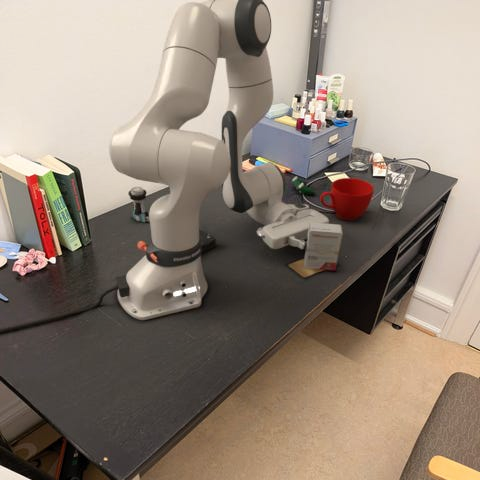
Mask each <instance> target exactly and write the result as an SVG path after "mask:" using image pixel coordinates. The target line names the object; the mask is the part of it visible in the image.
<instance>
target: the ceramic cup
mask: <svg viewBox="0 0 480 480" xmlns="http://www.w3.org/2000/svg"><path fill="white" fill-rule="evenodd" d="M374 190H375V188H374V186H373V185H372V184H371V183H370V182H368V181H366V180H363V179H359V178H354V177H342V178H338V179H336V180H334V181H333V182H332V184H331V190H330V191H324V192H323V193H322V194H321V195H320V198H319V200H320V203H321V204H322V206H323V207H326V208H328V209H332V210H333V211H334V213H335V215H336V216H337V217H338V218H339V219H341V220H344V221H354V220H356V219H357V218H359V217H361V216H362V215H363V214H364V213H365V212H366V210H367V209H368V207H369V206H370V203H371V201H372V199H373V195H374V192H375V191H374ZM328 195H329V196H330V202H331V204H327V203H326V202H325V201H324V197H325V196H328Z"/></svg>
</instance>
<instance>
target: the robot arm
mask: <svg viewBox="0 0 480 480" xmlns="http://www.w3.org/2000/svg"><path fill="white" fill-rule="evenodd" d="M271 34H272V17H271V12H270V10H269V8H268V6H267V4H266V2H265V1H264V0H206V1H202V2H197V1H194V2H193V1H191V2H186V3H183V4H181V5H180V7H178V8H177V10H176V12H175V13H174V16H173V18H172V21H171V23H170V26H169V29H168V32H167V35H166V38H165V42H164V45H163V49H162V54H161V59H160V64H159V68H158V72H157V75H156V80H155V82H154V87H153V89H152V92H151V94H150V96H149V98H148V100H147V101H146V103H145V104H144V106H143V107H142V108H141V109H140V111H139V112H138V113H137V114H136V115H135V116H134V117H133V118H132V119H130V120H129V121H128V122H126V123H125V124H123V125H120V126H119V127H118V128H116V130H115V131H114V132H113V134H112V135H111V138H110V141H109V145H108V146H109V147H108V153H109V159H110V161H111V164H112V165H113V167H114V169H115V170H116V171H117V172H118V173H120V174H122V175H124V176H127V177H130V178H132V179H135V180H137V181H141V182H142V181H143V182H149V183H154V184H155V183H156V184H160V185H165V186H168V187H169V193H168V194H166V195H163V196H161V197H159V198H157V199H156V200H154V202H152V204H151V206H150V209H149V212H148V214H149V220H150V222H149V228H150V235H151V237H150V240H149V243H148V244H147V243H146V242H145V241H144V240H139V241H138V242H137V243H136V244H137V245H136V246H137V248H138V249H139V250H140V251H141V252H145V255H144V256H143V257H142V258H140V259H139V260H138V262H136V264H135V265H133V267H131V268H130V269H129V270H128V271H127V273H126V275H120V276H116V277H115V281H116V285H115V286H112V287H111V288H109V289H107V290H105V291H104V292H103V293H101V295H100V296H99V299H98V301H97V302H96V303H94V304H93V305H90V306H88V307H85V308H81V309H77V310H73V311H68V312H65V313H61V314H58V315H55V316H51V317H46V318H42V319H38V320H34V321H31V322H26V323H22V324H17V325H13V326H9V327H3V328H0V333H4V332H8V331H13V330H18V329H22V328H26V327H30V326H34V325H38V324H43V323H47V322H50V321H55V320H58V319H62V318H65V317H68V316H72V315H76V314H81V313H84V312H87V311H89V310H92V309H95V308H97V307H98V306H100V305H101V303H102V302H103V300H104V297H105V296H107V295H108V294H109V293H110V294H111V292H114V291H116V290H117V300H118V303H119V304H120V306H121V307H122V309H123V310H124V311H125V312H126V313H127V314H128V315H129V316H131V317H133V318H134V319H136V320H139V321H146V320H150V319H155V318H158V317H159V318H160V317H162V316H167V315H171V314H175V313H179V312H184V311H189V310H192V309H197V308H199V307H201V305H202V299H203V297H204V296H205V295H206V293H207V291H208V286H209V285H208V282H207V279H206V276H205V274H204V269H203V264H202V257H201V256H202V254H203V252H202V245H201V237H200V235H199V229H200V216H201V215H200V214H201V208H202V206H203V203H204V201H205V199H206V198H207V197H208V196H209V195H210V194H211V193H212V192H214V191H216V190H217V189H219V188H220V187H221V197H222V200H223V203H224V205H225V206H226V207H227V208H228V209H229V210H231V211H233V212H235V213H238V214H244V213H246V214H247V215H248V216H249V217H250V218H251V219H253V221H255V222H256V223H258V224H260V225H262V226H260V227H258V228H257V229H256V232H255V233H256V235H257V236H258V237H260V238H261V240H262V241H263V242H264V243H265V244H266V245H267V246H268V247H269V248H270V249H272V250H278V249H282V248H284V247H287V246H291V247H296V248H299V249H300V250H304V249H306V247H307V241H305V240H307V236H308V229H309V223H310V222H312V223H325V224H330V220H329V218H328V217H327V216H326V215H324V214H323V213H321V212H320V211H317V210H316V209H313V208H310V205H309V204H306V203H300V204H299V203H298V204H292V203H285V202H283V201H282V200H283V199H284V196H285V190H286V177H285V174H284V172H283V171H282V169H281V168H280V167H279V166H278V165H276V164H275V163H273V162H271V161H267V162H264V163H262V164H259V165H257V166H255V167H252V168H251V169H248V170H245V171H243V170H244V169H243V145H244V144H243V143H244V141H245V139H246V137H247V135H248V134H249V133H250V131H251V130H252V129H253V128H254V127H255V126H257V124H258V123H259V122H260V121H262V120H263V119H264V118H265V117H266V115H267V114H268V113H269V111H270V109H271V108H272V105H273V102H274V84H273V82H274V81H273V74H272V67H271V63H270V58H269V54H268V49H267V46H268V43H269V42H270V39H271ZM218 59H225V72H226V81H227V87H228V102H227V107H226V111H225V112H224V114H223V116H222V118H221V139H220V138H217V137H215V136H212V135H209V134H206V133H203V132H199V131H192V130H191V131H190V130H185V129H181V128H182V127H183V126H184V125H185V124H186V123H187V122H189V121H191V120H193V119H195V118H197V117H199V116H202V114H203V113H204V112H205V111H206V110H207V108H208V106H209V103H210V99H211V95H212V88H213V86H214V85H213V84H214V81H215V80H214V79H215V75H216V70H217V65H218Z"/></svg>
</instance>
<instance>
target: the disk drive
mask: <svg viewBox="0 0 480 480" xmlns="http://www.w3.org/2000/svg"><path fill="white" fill-rule="evenodd" d="M199 235H200V237H201V245H202V253H204V252H206V251H208V250H210V249H212V248H213V247H215V246H217V238H216V237H215V236H213V235H211V234H209V233H207V232H205V231H204V230H202V229H200V228H199Z"/></svg>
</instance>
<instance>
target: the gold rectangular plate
mask: <svg viewBox="0 0 480 480" xmlns="http://www.w3.org/2000/svg"><path fill="white" fill-rule="evenodd" d="M337 265H338V263H337V264H336V266H337ZM287 266H288V267H289V268H290V269H292V270H293V271H295V272H296V274H298V275H299V276H301V277H303V279H306V278H308V277H311V276H314V275H316V274H318V273H321V272H323V271H324V270H322V269H309V268H304V258H302V259H299V260H297V261H294V262H291V263H289V264H287Z"/></svg>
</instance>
